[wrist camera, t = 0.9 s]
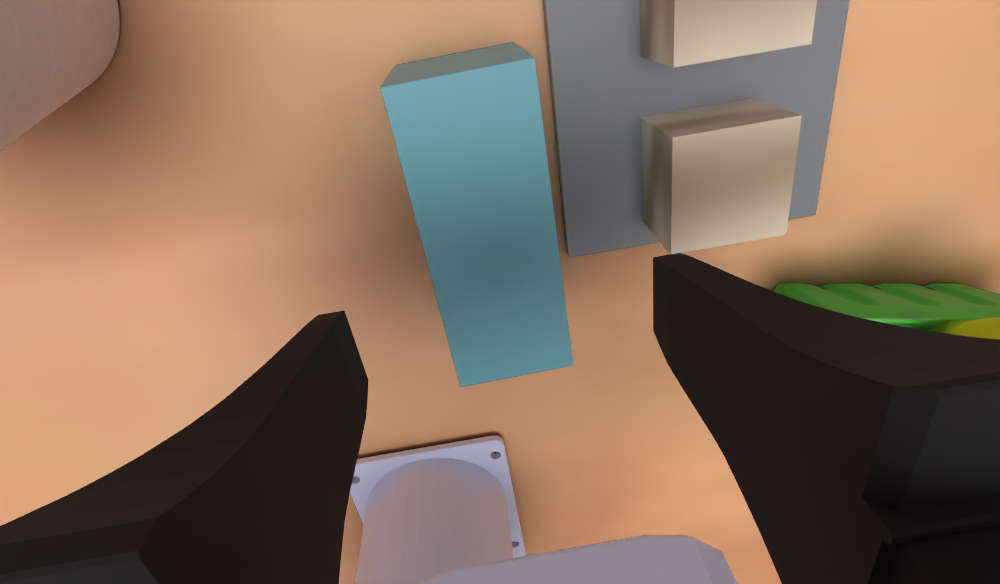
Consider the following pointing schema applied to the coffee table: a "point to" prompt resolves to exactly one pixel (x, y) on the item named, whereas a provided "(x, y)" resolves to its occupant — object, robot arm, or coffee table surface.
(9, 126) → the coffee cup
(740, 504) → the coffee table surface
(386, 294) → the coffee table surface
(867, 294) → the fruit basket
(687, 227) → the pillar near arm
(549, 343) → the lintel
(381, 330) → the coffee table surface
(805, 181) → the build plate
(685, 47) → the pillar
